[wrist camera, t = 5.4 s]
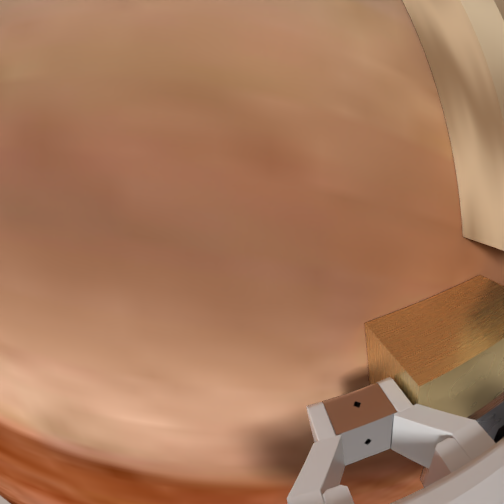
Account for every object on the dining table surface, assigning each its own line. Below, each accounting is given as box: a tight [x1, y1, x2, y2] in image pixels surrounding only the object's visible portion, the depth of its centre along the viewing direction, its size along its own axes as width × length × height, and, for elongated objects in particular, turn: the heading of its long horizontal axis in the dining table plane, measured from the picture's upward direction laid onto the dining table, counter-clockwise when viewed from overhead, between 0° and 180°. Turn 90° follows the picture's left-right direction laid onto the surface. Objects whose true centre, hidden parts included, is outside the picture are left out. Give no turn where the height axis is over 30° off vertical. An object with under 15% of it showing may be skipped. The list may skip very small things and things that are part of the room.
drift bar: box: [364, 275, 504, 418], centre depth 9 cm, size 3×6×4 cm, turn 105°
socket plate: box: [420, 392, 504, 485], centre depth 12 cm, size 10×10×3 cm
